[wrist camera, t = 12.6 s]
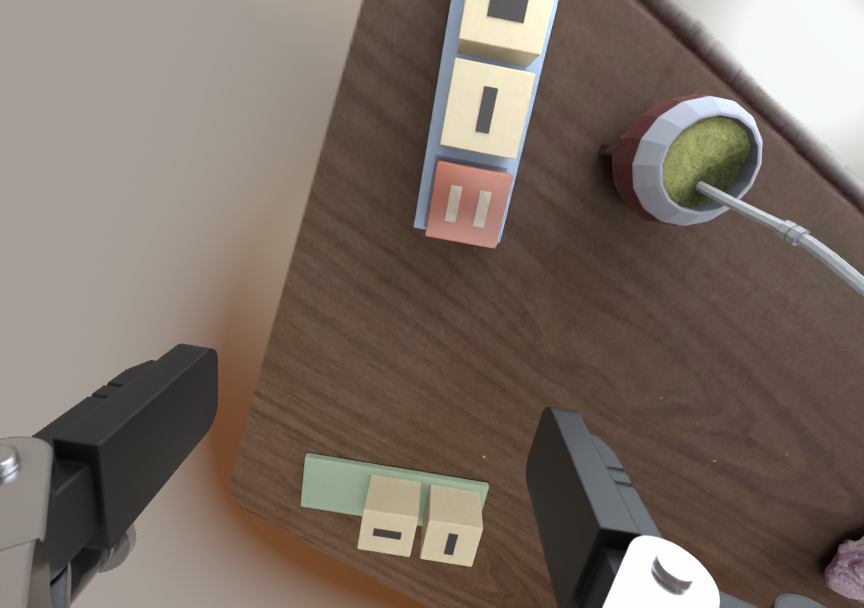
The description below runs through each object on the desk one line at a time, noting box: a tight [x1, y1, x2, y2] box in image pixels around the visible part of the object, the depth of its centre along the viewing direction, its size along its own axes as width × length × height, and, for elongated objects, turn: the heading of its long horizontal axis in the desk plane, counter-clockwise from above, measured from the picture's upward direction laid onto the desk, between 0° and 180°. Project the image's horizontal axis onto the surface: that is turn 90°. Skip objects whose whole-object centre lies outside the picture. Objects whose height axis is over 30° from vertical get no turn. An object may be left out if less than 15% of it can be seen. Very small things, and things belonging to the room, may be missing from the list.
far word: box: [301, 453, 489, 567], centre depth 38 cm, size 17×6×5 cm, turn 80°
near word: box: [414, 0, 558, 243], centre depth 27 cm, size 16×6×5 cm, turn 170°
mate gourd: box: [599, 94, 864, 296], centre depth 23 cm, size 8×8×15 cm
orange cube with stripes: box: [425, 159, 513, 249], centre depth 28 cm, size 5×5×4 cm
